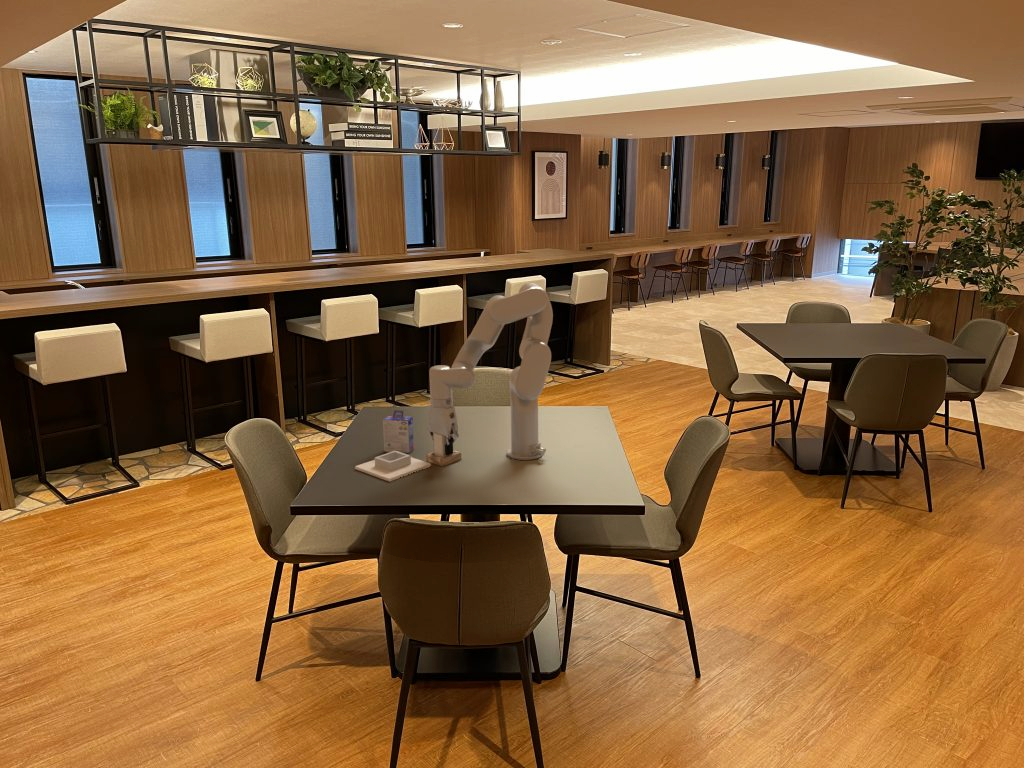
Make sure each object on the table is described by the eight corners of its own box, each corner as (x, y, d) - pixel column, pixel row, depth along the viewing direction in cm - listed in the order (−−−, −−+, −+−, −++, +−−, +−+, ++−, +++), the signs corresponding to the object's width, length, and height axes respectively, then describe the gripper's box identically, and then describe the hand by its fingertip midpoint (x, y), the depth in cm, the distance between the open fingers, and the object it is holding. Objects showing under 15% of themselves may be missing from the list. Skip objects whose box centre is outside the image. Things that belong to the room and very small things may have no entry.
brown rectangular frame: (461, 459, 268) (461, 452, 268) (442, 466, 262) (442, 459, 261) (445, 454, 274) (445, 447, 273) (426, 461, 267) (426, 454, 266)
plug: (453, 459, 268) (452, 429, 266) (442, 463, 265) (441, 432, 262) (445, 457, 271) (444, 427, 268) (434, 460, 267) (433, 430, 264)
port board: (431, 466, 262) (430, 455, 261) (389, 481, 249) (388, 470, 248) (396, 454, 274) (395, 444, 273) (355, 469, 261) (354, 457, 260)
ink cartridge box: (415, 448, 280) (413, 410, 277) (410, 453, 275) (408, 414, 271) (389, 447, 282) (387, 409, 279) (383, 452, 277) (381, 413, 273)
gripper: (467, 403, 260) (468, 455, 264) (432, 395, 271) (434, 444, 275) (451, 408, 254) (453, 461, 259) (416, 400, 265) (419, 450, 270)
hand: (443, 452), depth 267 cm, fingers open, 4 cm apart
